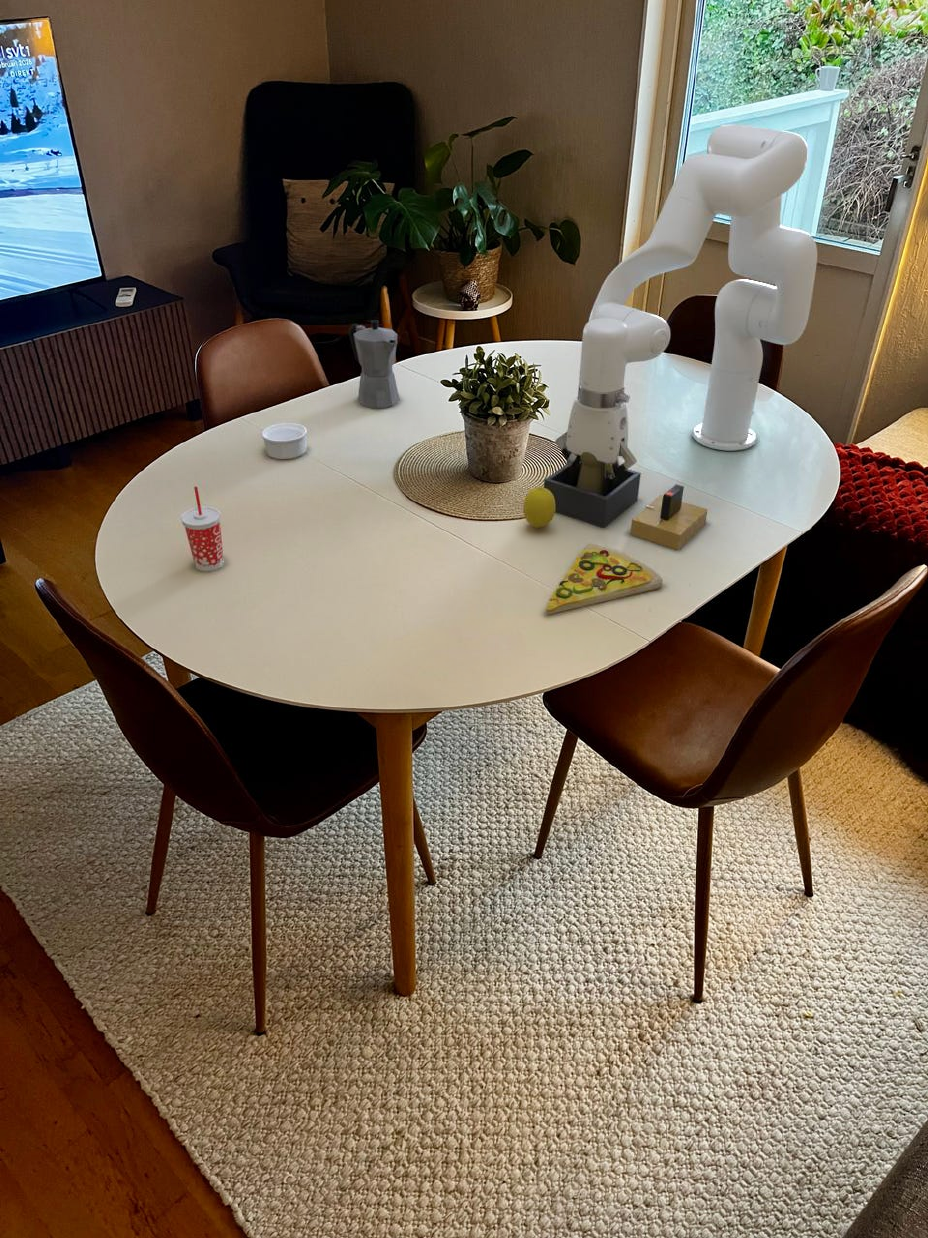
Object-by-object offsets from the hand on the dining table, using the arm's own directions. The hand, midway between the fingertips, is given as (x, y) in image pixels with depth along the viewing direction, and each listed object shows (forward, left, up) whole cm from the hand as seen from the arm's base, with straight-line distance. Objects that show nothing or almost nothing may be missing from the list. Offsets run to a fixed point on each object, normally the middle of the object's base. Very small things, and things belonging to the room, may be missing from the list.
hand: (591, 488), depth 171 cm
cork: (0, 0, -3) cm, 3 cm away
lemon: (+13, -3, -3) cm, 14 cm away
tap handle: (0, +16, 0) cm, 16 cm away
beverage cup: (+55, -40, -3) cm, 68 cm away
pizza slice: (+25, +14, -3) cm, 29 cm away
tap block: (0, +16, -3) cm, 16 cm away
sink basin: (0, 0, -3) cm, 3 cm away
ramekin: (+17, -60, -3) cm, 62 cm away
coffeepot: (-14, -63, -3) cm, 65 cm away
